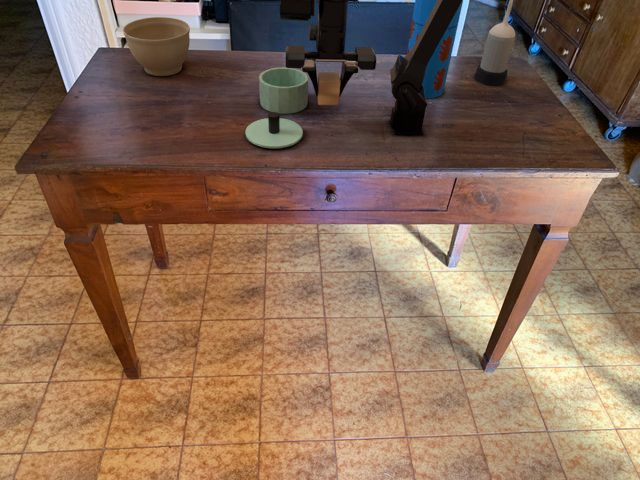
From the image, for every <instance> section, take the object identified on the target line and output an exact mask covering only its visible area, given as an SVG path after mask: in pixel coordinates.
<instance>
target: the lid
mask: <svg viewBox="0 0 640 480" xmlns="http://www.w3.org/2000/svg"><path fill="white" fill-rule="evenodd" d="M280 116H281V115H280V113H277V112H269V113H268V114H267V117H266V118H260V119H258V120H255V121H253V122H251V123H249V124H248V126H247V127H246V128H245V138H246V140H247V141H248V142H250V143H251V144H253V145H255V146H258V147H261V148H266V149H283V148H288V147H291V146H294V145H296V144H297V143H298V142H300V141H301V139H302V138H303V135H304V130H303V128H302V126H301V125H300V124H298V122H295V121H293V120H291V119H288V118H283V117H280Z"/></svg>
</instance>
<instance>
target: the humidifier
mask: <svg viewBox="0 0 640 480" xmlns="http://www.w3.org/2000/svg"><path fill="white" fill-rule="evenodd" d="M513 2H514V0H509V1H508V4H507V8H506V12H505V15H504V18H503V20H502V21H501V22H499V23H497V24H495V25H494V26H493V27H492V28H490V29H489V30H488V31H489V32H488V34H487V38H486V41H485V46H484V49H483V53H482V57H481V61H480V64H478V65H477V68H476V70H475V74H474V80H475V81H476V82H478V83H480V84H482V85H486V86H491V87H493V86H495V87H496V86H502V85H504V84H505V83H506V80H507V77H508V69H507V68H508V64H509V61H510V57H511V54H512V50H513V47H514V43H515V41H516V31H515V29H514V28H513V26H512V25H510V24H509V18H510V13H511V11H512V7H513V5H514V4H513Z"/></svg>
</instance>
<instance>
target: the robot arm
mask: <svg viewBox="0 0 640 480" xmlns="http://www.w3.org/2000/svg"><path fill="white" fill-rule="evenodd" d="M462 1H463V2H464V0H437V2H436V4H435V6H434V8H433V10H432V12H431V14H430V16H429V17H428V19H427V21H426V23H425V25H424V27H423V29H422V31H421V33H420V35H419V36H418V38H417V40H416V42H415V44H414V46H413V48H412V50H411V51H410V52H409V53H408V54H407V53H406V55H405V56H402V55H401V54H397V57H396V61H395V63H394V64H393V67H391V68H390V69H389V72H390V86H391V93H392V97H393V98H394V100H395V101H394V102H395V103H394V106H392V107H391V113H390V118H389V119H390V120H389V124H390V127H391V129H392V131H393V134H394V135H395V136H424V131H423V124H424V119H425V115H426V109H427V107H428V101H427V98H426V96H425V91H424V87H423V86H422V83H423V80H424V76H425V72H426V68H427V64H428V62H429V60H430V58H431V57H432V55H433V53H434V51H435V49H436V48H437V46H438V44H439V42H440V40H441V39H442V37H443V35H444V33H445V31H446V30H447V28H448V26H449V24H450V22H451V21H452V19H453V17H454V15H455V13H456V12H457V10H458V8H459V6H460V4H461V3H462ZM349 2H350V3H352V2H353V3H354V2H355V3H357V2H358V0H318V9H317V24H309V26H308V27H309V29H308V40H309V41H310V42H311V41H312V42H315V49H316V51H306V50H305V45H293V44H291V45H290V44H289V45H287V46H286V47H285V68H293V69H301V71H302V72H304V73H306V74H307V75H308V78H309V79H310V82H311V84H312V87H313V91H314V93H315V97H316V98H318V72H317V62H320V63H324V62H325V63H341V71H340V75H339V76H340V94H339V98H341V96H342V94H343V92H344V90H345V88H346V86H347V84H348V83H349V81H350V79H351V78H352V77H353V75H354V74H358V73H359V70H361V71H374V70H376V68H377V55H376V52H375V50H374V49H373V47H372V46H355V47H354V52H353V51H352V52H351V51H347V52H346V51H345V50H346V35H347V22H348V9H349V8H348V7H349ZM316 5H317V0H280V2H279V18H280V20H281V21H292V22H307V23H309V22H310V20H311V19H312V17H315V16H316Z"/></svg>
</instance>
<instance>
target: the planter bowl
mask: <svg viewBox="0 0 640 480" xmlns="http://www.w3.org/2000/svg"><path fill="white" fill-rule="evenodd" d="M190 30H191V29H190V24H189V23H187V22H186V21H184V20H182V19H179V18H176V17H175V18H174V17H167V16H151V17H144V18H140V19H136V20H132V21H129V22H128V23H126V24H125V26H124V27H123V28H122V33H123V35H124V37H125V41H126V44H127V46H128V49H129V51H130V53H131V55H132V56H133V57H134V59H135V60H136V61H137V63H139V65H141V66H142V68H143V69H144V71H145V73H146V74H149V75H150V76H154V77H167V76H173V75H176V74H178V73H179V72H181V71H182V68H183V64H184V62H185V60H186V58H187V56H188V53H189V49H190V42H191V41H190V40H191V39H190V32H191V31H190Z"/></svg>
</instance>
